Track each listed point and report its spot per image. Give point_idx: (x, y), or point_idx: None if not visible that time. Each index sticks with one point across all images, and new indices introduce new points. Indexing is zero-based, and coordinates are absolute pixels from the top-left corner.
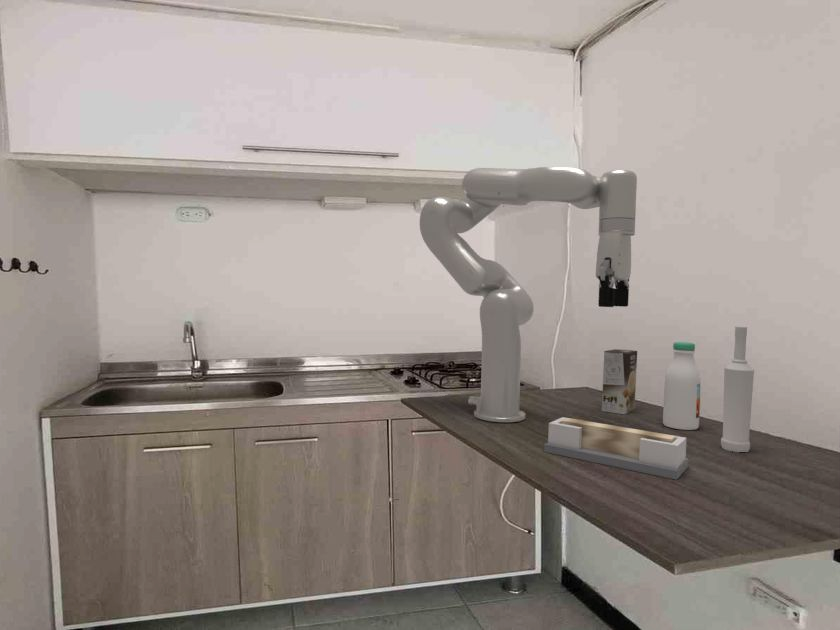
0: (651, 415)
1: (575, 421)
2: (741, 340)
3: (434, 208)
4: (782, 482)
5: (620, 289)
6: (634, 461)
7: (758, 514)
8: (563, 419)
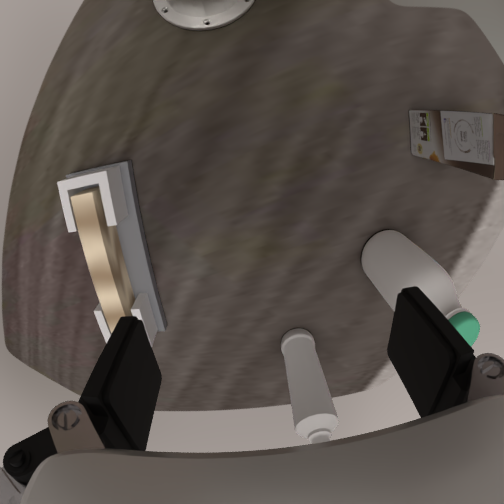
0: (434, 193)
1: (82, 214)
2: None
3: None
4: (197, 388)
5: (438, 392)
6: None
7: None
8: (93, 182)
